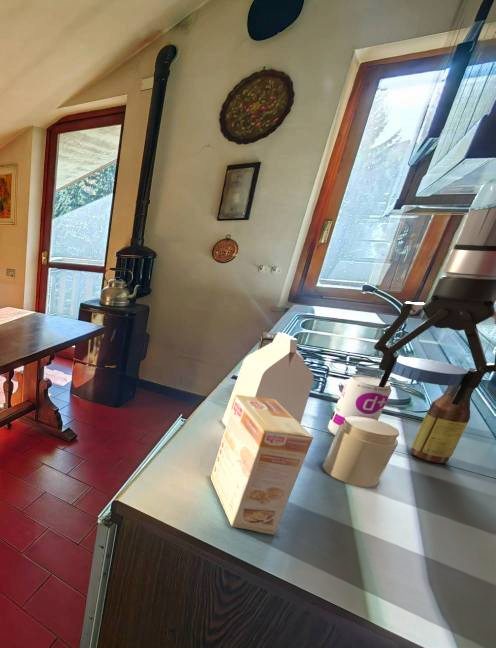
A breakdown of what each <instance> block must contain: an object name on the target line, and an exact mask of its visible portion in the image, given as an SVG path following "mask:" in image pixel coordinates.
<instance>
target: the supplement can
mask: <svg viewBox="0 0 496 648" xmlns="http://www.w3.org/2000/svg"><path fill="white" fill-rule="evenodd" d="M381 379H382V378H378V377H373V376H370V375H369V376H368V375H359V374H358V375H357V374H355V375H352V376H351V377H350V378H348V379H347V380H346V381H345V383H344V385H343V388H342V390H341V393H340V395H339V398H338V400H337V403H336V405H335V408H334V410H333V413H332V415H331V417H330V420H329V422H328V424H327V428H328V429H327V430H329V432H330V433H331V434H333V435H334V436H335V435H336V433H337V430H338V428H339V426H340V425H341V424H344V420H346V419H345V418H346V417H351V416H358V417H365V418H370V419H374V420H378V421H379V419H380V417H381V415H382V412H383V410H384V409H385V406H386V404H387V403H388V400H389V398H390V395H391V393H392V387H391V383H390V382H388V381H387V383H386V385H385V386H384V387H383V388H382V387H378V386H379V383H380V381H381Z"/></svg>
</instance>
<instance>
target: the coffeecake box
mask: <svg viewBox="0 0 496 648" xmlns="http://www.w3.org/2000/svg"><path fill="white" fill-rule="evenodd" d="M313 440H314V436H313V435H312V434H311V433H309V432H308V430H307V429H305V427H303V425H302V424H299V423H298V422H297V421H296V420H295V419H294V418H293V417H292V416H291V415H290V414H289V413H288V412H287V411H286V410H285V409H284V408H283V407H282V406H281V405H280V404H279V403H278V402H277V401H276V400H275V399H269V398H261V397H251V396H243V395H235V398H234V402H233V405H232V408H231V412H230V415H229V418H228V422H227V425H226V426H225V428H224V432H223V435H222V439H221V442H220V446H219V449H218V453H217V454H216V455H217V456H216V458H215V462H214V466H213V469H212V472H211V475H210V476H211V477H210V480H211V483H212V485H213V487H214V490H215V492H216V494H217V497H218V499H219V502H220V504H221V507H222V508H223V511H224V512H225V515H226V517H227V520H228V522H229V524H230V526H231V528H236V529H237V528H238V529H243V530H249V531H253V532H257V533H262V534H267V535H273V536H275V535H276V531H277V529H278V527H279V524H280V522H281V520H282V517H283V515H284V512H285V510H286V506H287V504H288V502H289V499H290V497H291V494H292V492H293V489H294V487H295V484H296V482H297V479H298V477H299V474H300V472H301V470H302V467H303V464H304V462H305V459H306V458H307V455H308V454H307V453H308V451H309V449H310V448H311V447H310V446H311V444H312V442H313Z"/></svg>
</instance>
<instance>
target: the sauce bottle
mask: <svg viewBox="0 0 496 648" xmlns="http://www.w3.org/2000/svg"><path fill="white" fill-rule="evenodd" d="M460 386H461V385H458V386H446V389H445V390H444V392H443V394H442V395H440V396H439V397H437V398H436V399H434V400H433V401H432V402H431V403H430V406H429V408H428V410H427V412H426V414H425V416H424V418H423V420H422V422H421V423H420V424H421V425H420V426H419V429H418V431H417V433H416V435H415V438H414V439H413V443H412V444H411V449H410V453H411V454H412V455H414V456H415V457H417V458H419V459H421V460H424V461H426V462H431V463H435V464H446V463H448V462H449V461H450V458H452V457H453V455H454V452H455V450H456V448H457V446H458V444H459V442H460V440H461V438H462V436H463V434H464V432H465V430H466V429H467V426H468V424H469V422H470V419H471V398H472V396H473V393H474V391H475V389H472V388H468V387H467V388H466V390H465V392H464V394H463V396H462V397H461V399H460V401H459V403H458V405H455V404H451V403H452V401H453V399H454V397H455V395H456V393H457V391H458V389H459V388H460Z"/></svg>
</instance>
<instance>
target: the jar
mask: <svg viewBox="0 0 496 648" xmlns="http://www.w3.org/2000/svg"><path fill="white" fill-rule="evenodd" d="M345 419H346V420H344V424H341V425H340V426H339V428H338V430H337V433H336V435H334V438H333V440H332V443H331V444H330V446H329V449H328V452H327V454H326V457H325V459H324V461H323V463H322V469H323V470H324V472H325V473H327V474H328V475H329V476H331V477H333V478H334V479H336V480H339V481H341V482H343V483H345V484H349V485H353V486H356V487H361V488H375V487H377V486H378V484H379V482H380V480H381V478H382V477H383V474H384V473H385V470H386V468H387V466H388V464H389V463H390V461H391V458H392V456H393V454H394V453H395V450H396V448H397V446H398V444H399V441H398V439H397V438H398V437H399V436H400V432H399V429H397V428H396V427H394V426H393V425H391V424H389V423H386V422H383V421H380V420H379V419H378V420H374V419H370V418H365V417H358V416H351V417H346V418H345Z"/></svg>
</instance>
